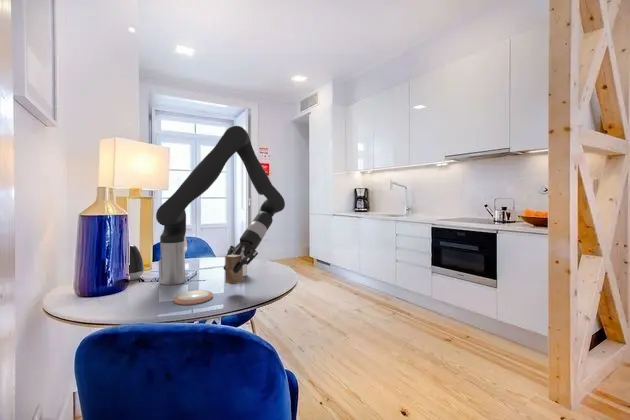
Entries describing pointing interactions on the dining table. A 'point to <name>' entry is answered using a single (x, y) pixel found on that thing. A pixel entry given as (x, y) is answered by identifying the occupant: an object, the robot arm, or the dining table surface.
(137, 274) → the dark grey tapered dome
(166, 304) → the dining table surface
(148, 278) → the dining table surface
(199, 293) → the terracotta dish
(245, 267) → the jar
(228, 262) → the walnut block
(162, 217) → the robot arm
